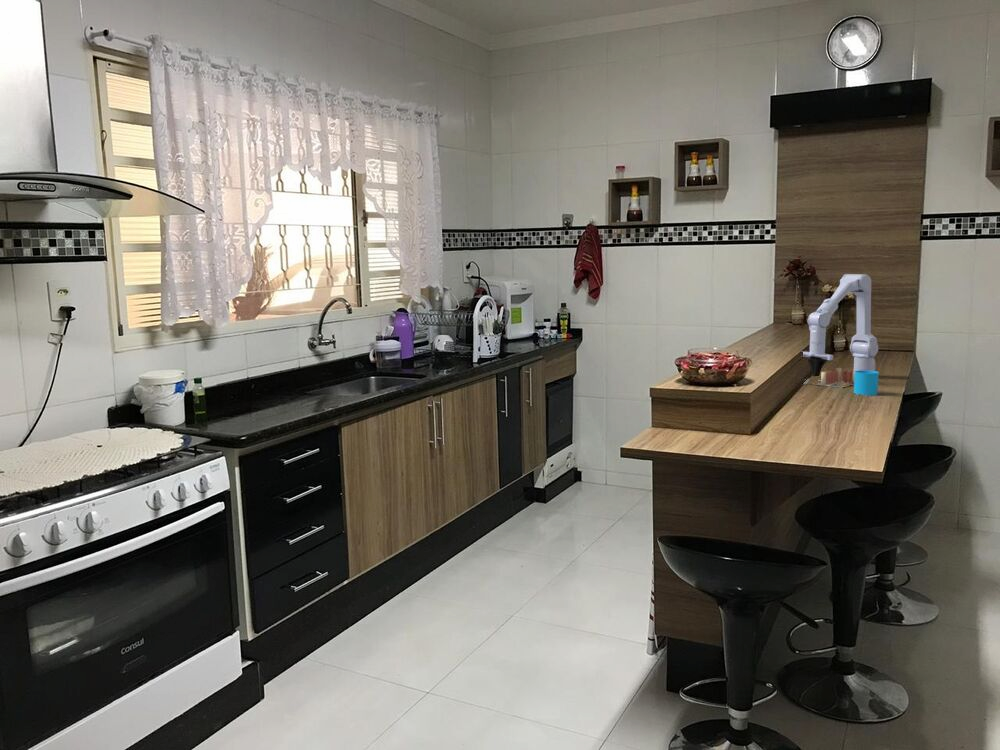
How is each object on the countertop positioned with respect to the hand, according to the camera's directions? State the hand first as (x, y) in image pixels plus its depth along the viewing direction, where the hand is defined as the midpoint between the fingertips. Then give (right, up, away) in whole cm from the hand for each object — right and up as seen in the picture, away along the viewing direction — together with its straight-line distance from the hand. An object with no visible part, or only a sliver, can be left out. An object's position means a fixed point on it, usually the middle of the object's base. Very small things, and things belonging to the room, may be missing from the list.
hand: (816, 376), depth 326 cm
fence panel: (+4, -3, -3) cm, 6 cm away
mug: (+10, -6, -22) cm, 25 cm away
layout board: (+7, -2, +3) cm, 8 cm away
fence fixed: (+11, -3, -2) cm, 12 cm away
